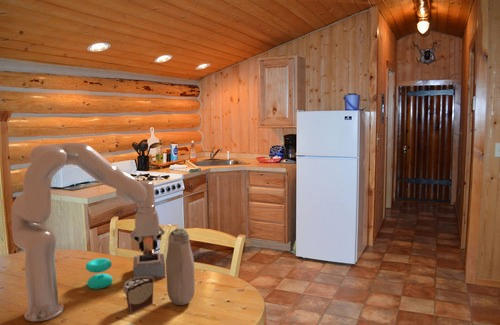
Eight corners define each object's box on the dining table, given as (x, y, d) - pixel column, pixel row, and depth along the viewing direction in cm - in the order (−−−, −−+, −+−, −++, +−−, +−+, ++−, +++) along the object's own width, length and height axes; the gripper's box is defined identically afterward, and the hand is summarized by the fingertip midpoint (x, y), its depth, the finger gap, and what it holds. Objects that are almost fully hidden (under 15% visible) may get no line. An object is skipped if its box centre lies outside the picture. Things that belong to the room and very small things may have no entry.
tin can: (154, 254, 179) (153, 236, 178) (142, 255, 177) (141, 237, 176) (154, 250, 183) (153, 232, 182) (142, 251, 182) (141, 234, 181)
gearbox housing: (165, 277, 177) (164, 261, 176) (133, 281, 174) (133, 264, 173) (163, 266, 189) (163, 251, 188) (134, 269, 186) (133, 254, 185)
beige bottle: (198, 305, 151) (195, 231, 147) (170, 311, 147) (166, 235, 144) (191, 294, 160) (189, 224, 156) (165, 299, 156) (162, 227, 153)
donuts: (106, 255, 177) (115, 261, 169) (107, 277, 178) (116, 285, 170) (82, 261, 170) (90, 268, 163) (83, 284, 172) (92, 292, 164)
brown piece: (145, 297, 158) (144, 272, 157) (155, 302, 154) (154, 276, 153) (117, 310, 149) (115, 283, 147) (127, 315, 145) (126, 288, 144)
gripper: (125, 213, 172) (128, 255, 175) (166, 209, 176) (168, 250, 179) (125, 209, 179) (128, 249, 182) (165, 205, 184) (167, 245, 186)
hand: (148, 249), depth 180 cm, fingers closed on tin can, 5 cm apart
